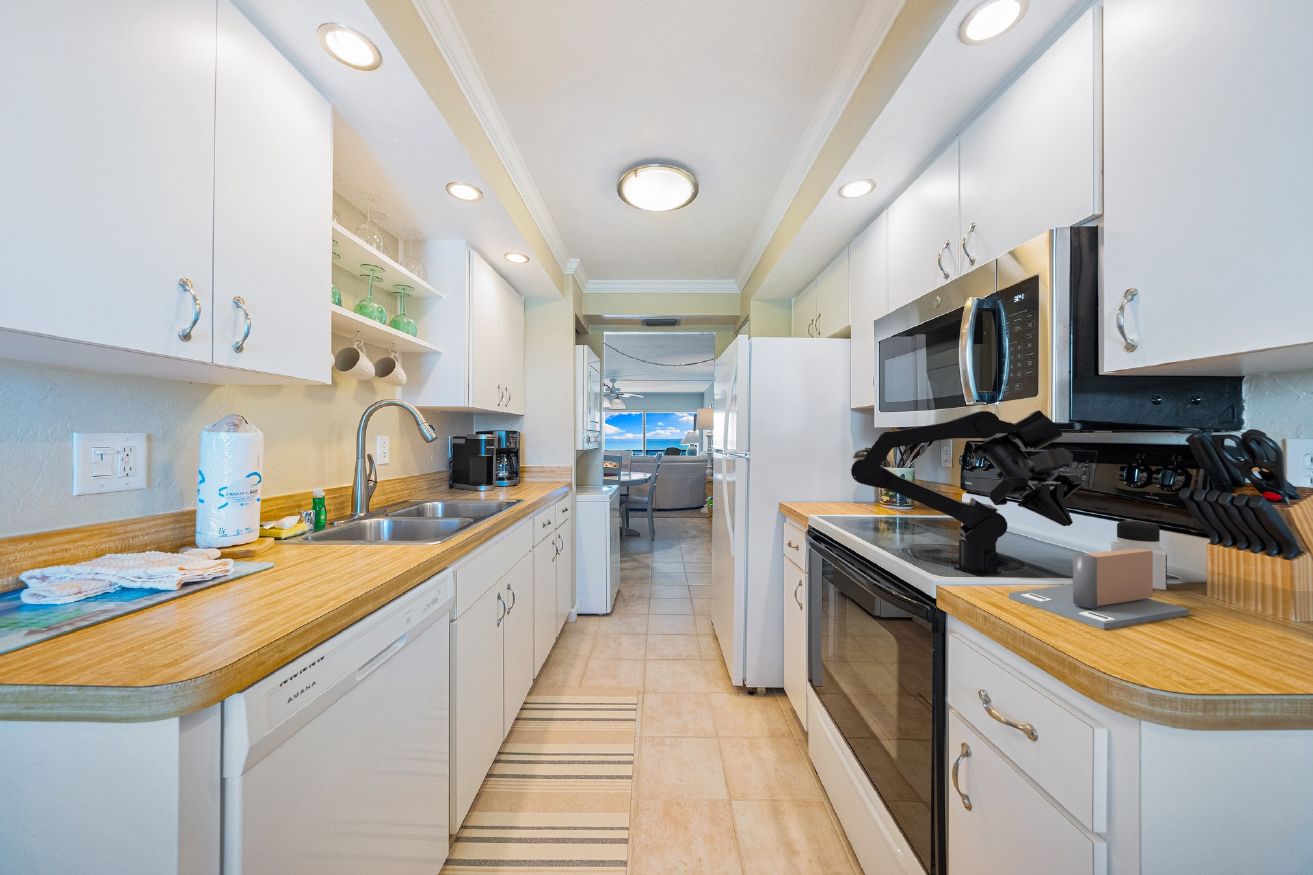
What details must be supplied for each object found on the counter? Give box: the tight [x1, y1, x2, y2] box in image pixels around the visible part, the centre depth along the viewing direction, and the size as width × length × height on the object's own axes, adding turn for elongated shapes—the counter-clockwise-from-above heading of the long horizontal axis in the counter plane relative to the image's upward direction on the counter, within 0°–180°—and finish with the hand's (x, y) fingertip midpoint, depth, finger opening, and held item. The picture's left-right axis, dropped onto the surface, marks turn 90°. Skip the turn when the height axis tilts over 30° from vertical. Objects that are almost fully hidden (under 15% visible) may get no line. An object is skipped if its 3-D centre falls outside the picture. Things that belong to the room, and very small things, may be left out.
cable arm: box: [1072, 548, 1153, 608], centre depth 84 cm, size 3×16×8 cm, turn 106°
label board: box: [1008, 583, 1190, 631], centre depth 85 cm, size 15×20×1 cm
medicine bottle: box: [1110, 520, 1168, 591], centre depth 98 cm, size 7×7×12 cm
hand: (1068, 524), depth 93 cm, fingers closed
